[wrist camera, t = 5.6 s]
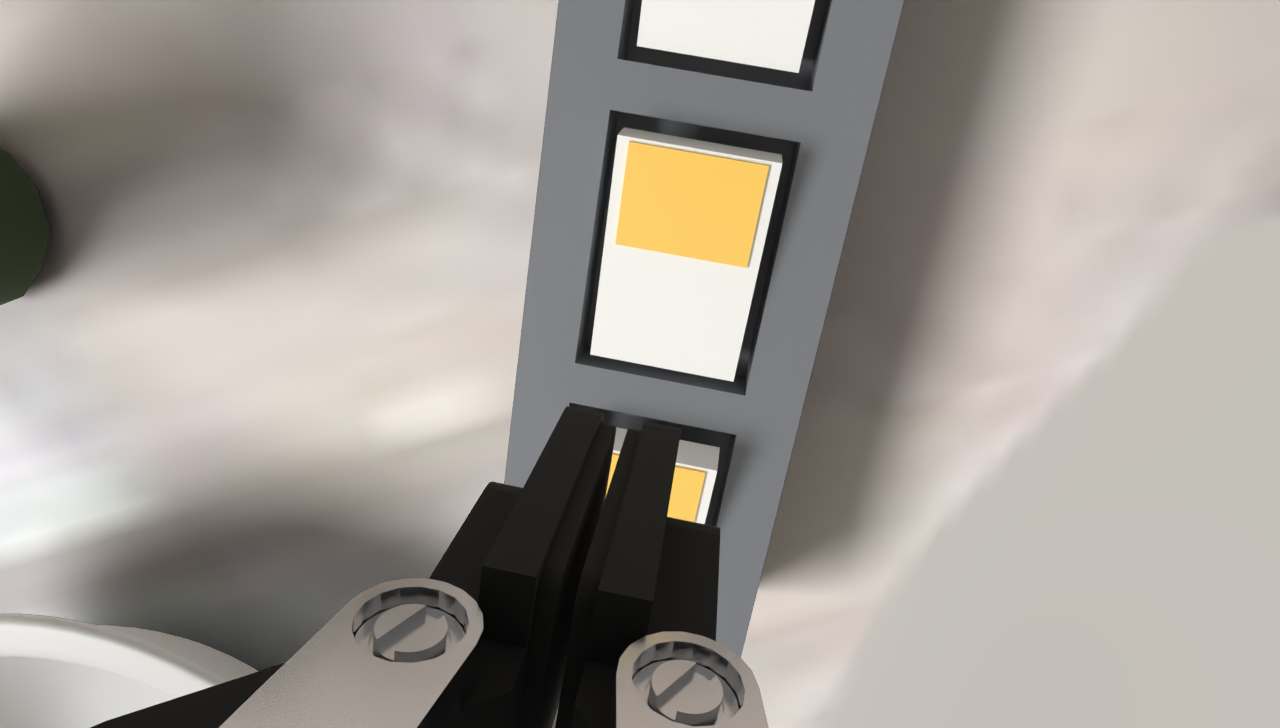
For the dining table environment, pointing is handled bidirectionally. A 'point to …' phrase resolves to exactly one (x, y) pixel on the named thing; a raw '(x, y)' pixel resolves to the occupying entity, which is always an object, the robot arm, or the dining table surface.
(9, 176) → the character mug
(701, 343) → the middle rocker
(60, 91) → the dining table surface
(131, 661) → the soup bowl
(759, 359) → the rocker switch panel
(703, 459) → the rocker
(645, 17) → the rocker
